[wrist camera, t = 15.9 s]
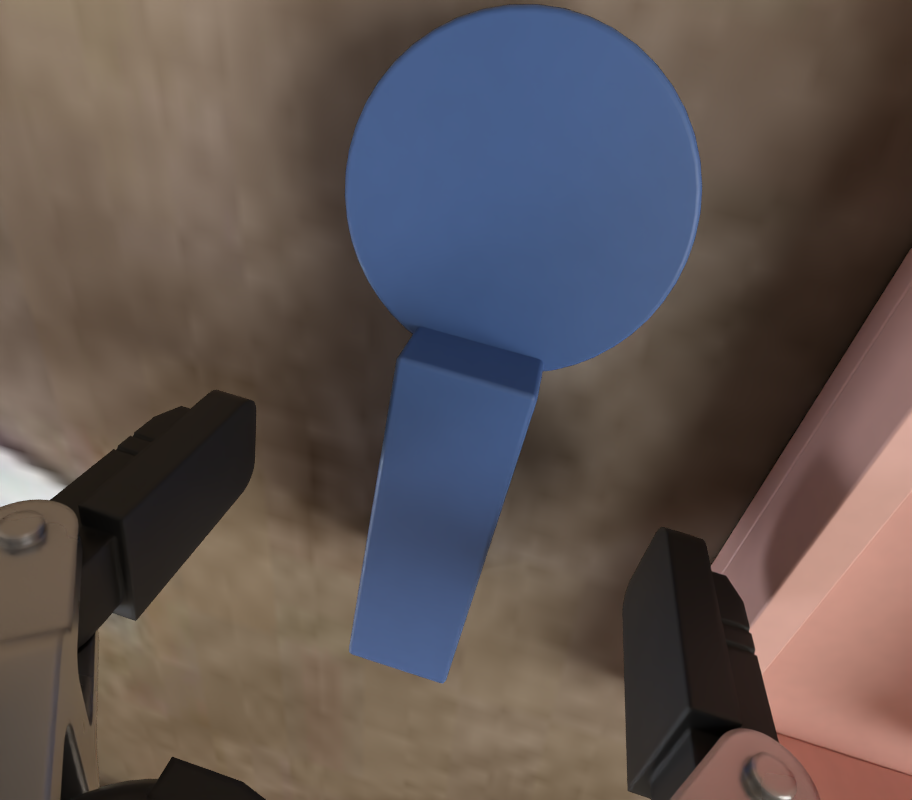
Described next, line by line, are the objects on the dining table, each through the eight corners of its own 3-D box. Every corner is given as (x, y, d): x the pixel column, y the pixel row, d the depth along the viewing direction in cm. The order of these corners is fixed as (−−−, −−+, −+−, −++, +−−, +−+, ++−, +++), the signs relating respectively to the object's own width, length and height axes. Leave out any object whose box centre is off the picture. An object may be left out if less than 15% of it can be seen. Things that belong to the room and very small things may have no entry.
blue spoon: (528, 592, 15) (511, 708, 13) (337, 533, 16) (282, 633, 13) (743, 55, 9) (804, 58, 6) (407, -24, 9) (324, -53, 6)
